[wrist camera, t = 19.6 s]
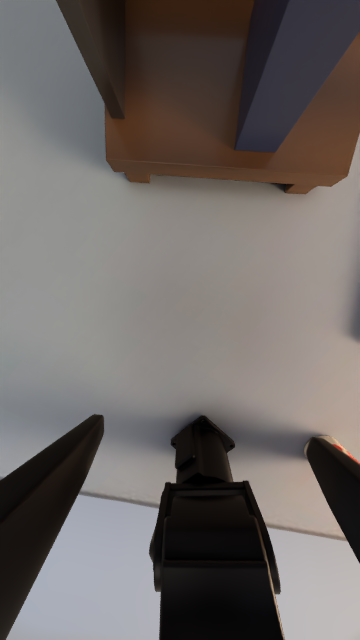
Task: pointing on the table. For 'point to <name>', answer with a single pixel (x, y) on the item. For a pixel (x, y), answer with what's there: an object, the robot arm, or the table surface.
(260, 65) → the book
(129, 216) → the table surface
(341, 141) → the shelf
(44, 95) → the table surface
